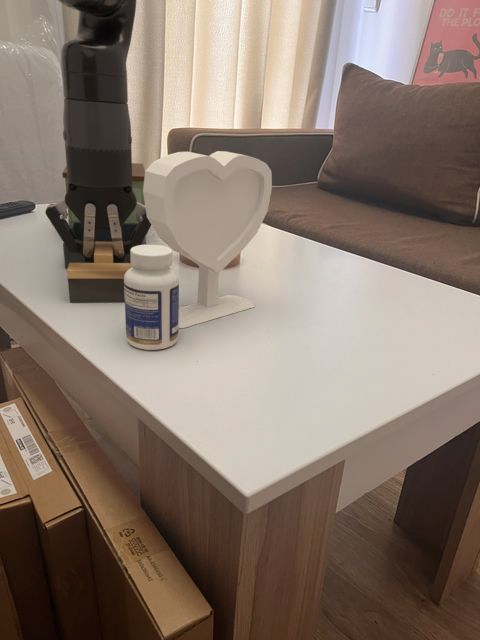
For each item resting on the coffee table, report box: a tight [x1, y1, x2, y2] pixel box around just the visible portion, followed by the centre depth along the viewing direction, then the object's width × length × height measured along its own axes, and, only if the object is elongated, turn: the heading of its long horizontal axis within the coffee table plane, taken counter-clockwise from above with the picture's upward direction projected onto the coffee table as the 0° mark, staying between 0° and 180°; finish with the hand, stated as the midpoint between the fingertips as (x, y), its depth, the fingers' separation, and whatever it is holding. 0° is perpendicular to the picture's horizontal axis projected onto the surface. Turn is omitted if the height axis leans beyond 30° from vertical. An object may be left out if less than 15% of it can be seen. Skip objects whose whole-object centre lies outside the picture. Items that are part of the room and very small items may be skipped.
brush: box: [66, 242, 133, 303], centre depth 66 cm, size 9×8×5 cm
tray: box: [62, 221, 148, 270], centre depth 79 cm, size 11×13×4 cm
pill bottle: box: [124, 244, 180, 351], centre depth 53 cm, size 5×5×10 cm
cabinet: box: [62, 162, 147, 238], centre depth 90 cm, size 13×15×11 cm
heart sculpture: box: [143, 150, 273, 329], centre depth 60 cm, size 16×5×18 cm, turn 136°
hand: (105, 282), depth 69 cm, fingers closed on brush
